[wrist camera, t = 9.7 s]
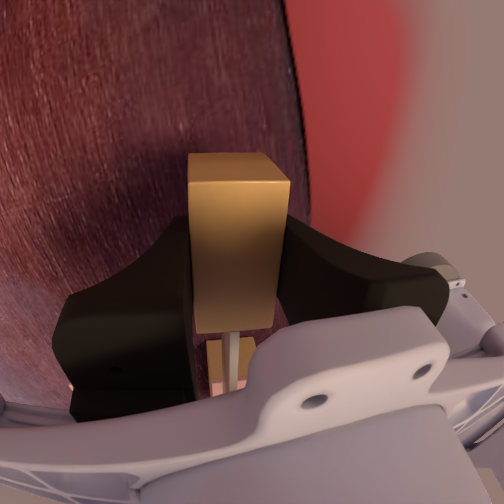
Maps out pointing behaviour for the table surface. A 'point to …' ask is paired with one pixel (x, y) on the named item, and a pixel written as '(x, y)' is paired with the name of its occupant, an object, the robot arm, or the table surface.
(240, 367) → the light tan rectangular block
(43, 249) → the table surface
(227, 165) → the chisel
